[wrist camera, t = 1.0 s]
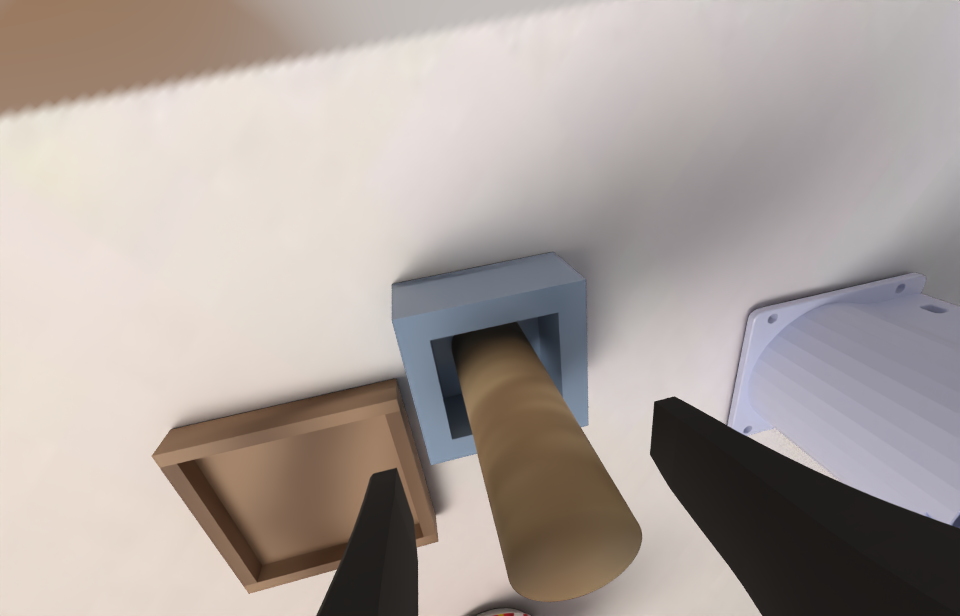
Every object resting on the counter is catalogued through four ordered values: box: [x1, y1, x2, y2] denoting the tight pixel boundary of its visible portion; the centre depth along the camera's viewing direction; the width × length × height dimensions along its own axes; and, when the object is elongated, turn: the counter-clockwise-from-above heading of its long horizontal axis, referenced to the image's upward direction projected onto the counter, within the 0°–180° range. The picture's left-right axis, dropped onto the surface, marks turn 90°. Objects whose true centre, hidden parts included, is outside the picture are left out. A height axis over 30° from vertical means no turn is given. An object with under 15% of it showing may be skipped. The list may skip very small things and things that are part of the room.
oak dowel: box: [451, 322, 642, 602], centre depth 12 cm, size 3×3×9 cm
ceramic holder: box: [392, 252, 588, 465], centre depth 16 cm, size 6×6×3 cm
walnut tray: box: [152, 379, 438, 594], centre depth 18 cm, size 9×9×1 cm
